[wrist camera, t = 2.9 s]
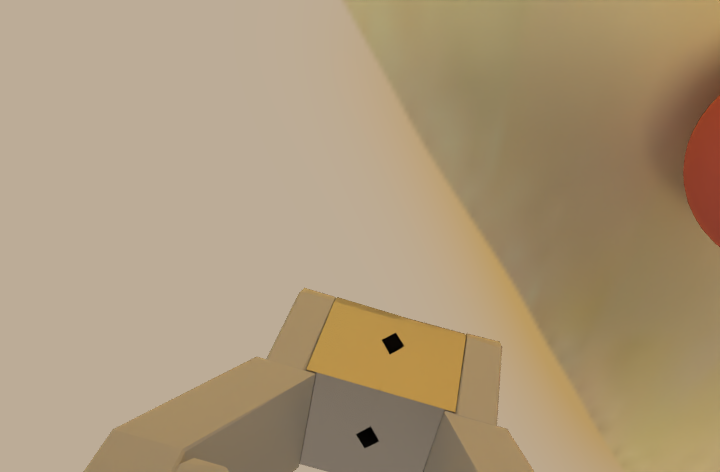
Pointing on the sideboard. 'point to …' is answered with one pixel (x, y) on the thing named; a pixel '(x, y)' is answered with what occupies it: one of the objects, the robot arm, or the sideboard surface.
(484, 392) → the robot arm
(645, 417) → the sideboard surface
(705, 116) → the ball
